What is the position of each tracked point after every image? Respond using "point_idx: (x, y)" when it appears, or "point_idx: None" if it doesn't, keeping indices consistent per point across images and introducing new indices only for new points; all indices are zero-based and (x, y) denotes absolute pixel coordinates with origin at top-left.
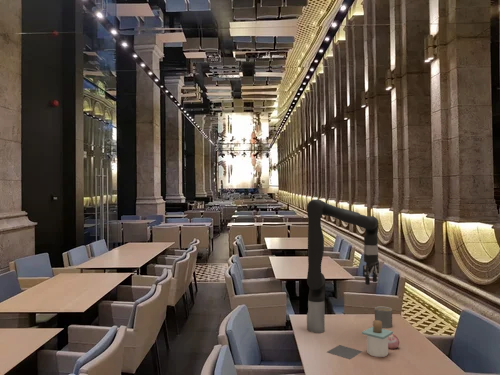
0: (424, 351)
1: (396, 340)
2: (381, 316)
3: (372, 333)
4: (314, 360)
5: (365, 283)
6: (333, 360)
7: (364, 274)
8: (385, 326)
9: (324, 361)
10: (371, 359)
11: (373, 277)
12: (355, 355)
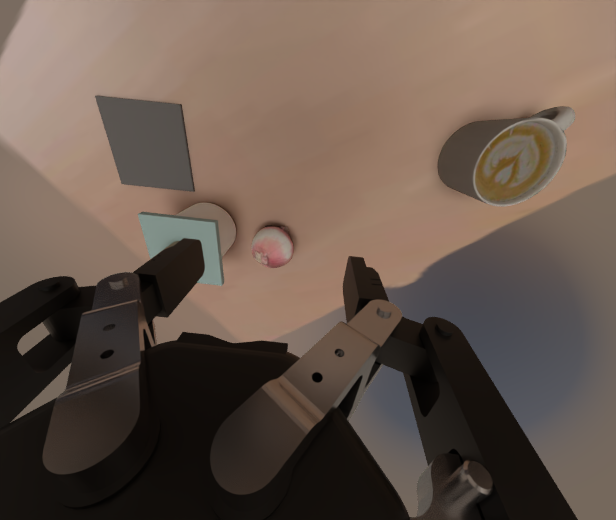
0: (302, 300)
1: (265, 266)
2: (459, 167)
3: (156, 245)
4: (26, 93)
5: (183, 240)
6: (82, 145)
7: (39, 313)
8: (441, 176)
9: (52, 126)
10: None
11: (352, 288)
12: (154, 186)
